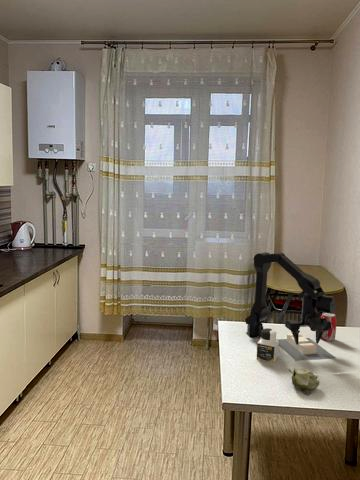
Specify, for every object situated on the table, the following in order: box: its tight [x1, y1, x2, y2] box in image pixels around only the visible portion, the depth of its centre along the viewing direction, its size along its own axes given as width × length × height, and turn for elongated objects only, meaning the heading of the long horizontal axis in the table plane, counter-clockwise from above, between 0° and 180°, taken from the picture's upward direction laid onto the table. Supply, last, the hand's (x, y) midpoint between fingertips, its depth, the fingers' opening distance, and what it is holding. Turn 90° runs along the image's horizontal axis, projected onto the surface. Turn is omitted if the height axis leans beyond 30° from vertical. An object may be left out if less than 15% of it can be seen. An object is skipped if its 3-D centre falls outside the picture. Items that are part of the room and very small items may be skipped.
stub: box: [298, 342, 317, 354], centre depth 176 cm, size 6×5×3 cm
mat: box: [276, 337, 337, 362], centre depth 180 cm, size 18×23×1 cm
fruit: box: [288, 367, 320, 396], centre depth 145 cm, size 9×9×8 cm
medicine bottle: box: [256, 327, 280, 363], centre depth 169 cm, size 7×7×12 cm
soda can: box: [320, 312, 337, 342], centre depth 192 cm, size 7×7×12 cm
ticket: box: [286, 333, 310, 349], centre depth 184 cm, size 6×10×3 cm, turn 11°
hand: (307, 343), depth 176 cm, fingers open, 9 cm apart
